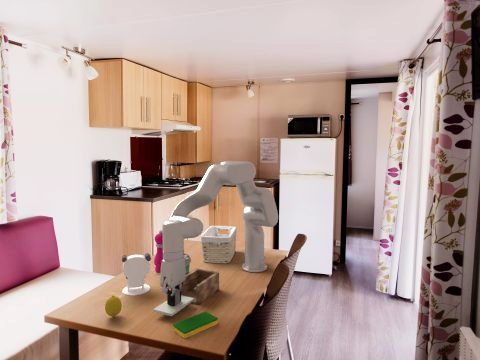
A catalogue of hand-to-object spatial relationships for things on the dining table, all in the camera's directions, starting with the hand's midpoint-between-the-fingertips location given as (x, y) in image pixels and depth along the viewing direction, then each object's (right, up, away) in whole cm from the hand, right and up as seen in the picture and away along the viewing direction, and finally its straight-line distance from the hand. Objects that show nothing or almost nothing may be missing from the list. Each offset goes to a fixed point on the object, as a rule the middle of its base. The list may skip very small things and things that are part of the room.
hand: (174, 302), depth 129 cm
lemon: (-21, -4, -4) cm, 22 cm away
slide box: (+7, -2, +15) cm, 16 cm away
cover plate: (0, -1, 0) cm, 1 cm away
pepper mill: (-14, +1, +42) cm, 45 cm away
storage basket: (+13, +3, +63) cm, 64 cm away
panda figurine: (-19, -2, +20) cm, 28 cm away
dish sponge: (+9, -5, -10) cm, 15 cm away
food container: (-1, 0, +32) cm, 32 cm away
